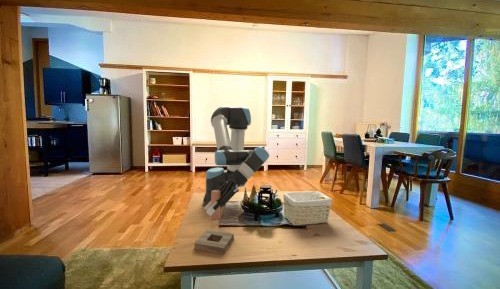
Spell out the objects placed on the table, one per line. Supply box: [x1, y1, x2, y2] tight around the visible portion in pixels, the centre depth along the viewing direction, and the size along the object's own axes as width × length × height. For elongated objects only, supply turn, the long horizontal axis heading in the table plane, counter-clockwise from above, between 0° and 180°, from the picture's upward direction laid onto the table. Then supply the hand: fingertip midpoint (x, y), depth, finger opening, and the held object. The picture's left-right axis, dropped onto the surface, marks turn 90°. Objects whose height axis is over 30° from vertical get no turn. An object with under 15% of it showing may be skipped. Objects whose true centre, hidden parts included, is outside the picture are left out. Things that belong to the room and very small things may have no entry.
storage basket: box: [283, 190, 333, 226], centre depth 151 cm, size 24×16×15 cm
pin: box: [210, 190, 221, 221], centre depth 119 cm, size 4×4×13 cm
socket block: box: [193, 229, 235, 255], centre depth 122 cm, size 14×14×3 cm
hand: (207, 212), depth 118 cm, fingers closed on pin, 4 cm apart
